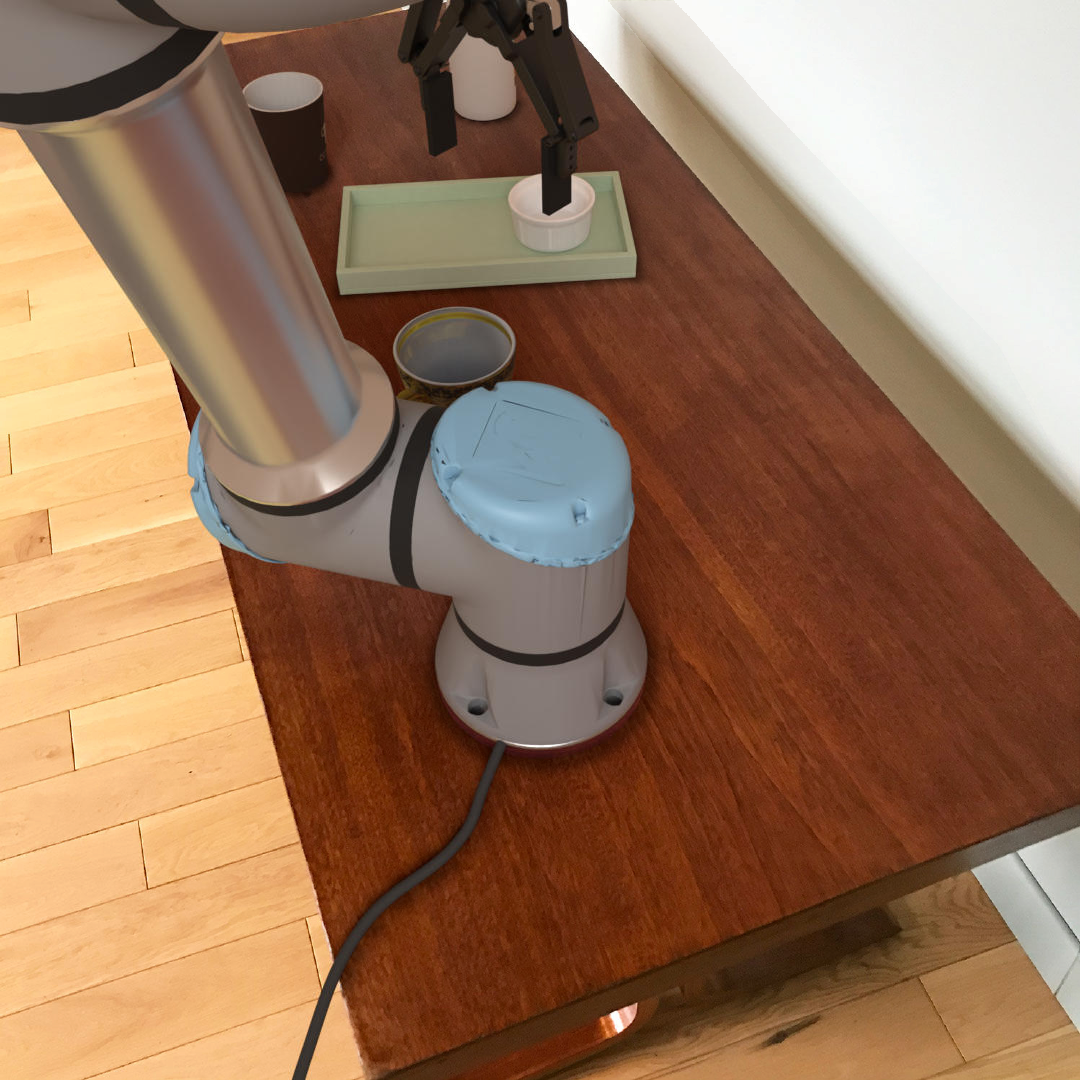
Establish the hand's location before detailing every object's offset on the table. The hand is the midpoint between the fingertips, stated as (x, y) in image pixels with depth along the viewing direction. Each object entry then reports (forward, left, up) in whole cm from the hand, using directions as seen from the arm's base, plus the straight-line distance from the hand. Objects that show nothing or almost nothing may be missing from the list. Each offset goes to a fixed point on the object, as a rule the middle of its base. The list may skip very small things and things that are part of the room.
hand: (498, 178), depth 94 cm
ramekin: (+15, -6, -16) cm, 23 cm away
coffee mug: (+31, +21, -17) cm, 41 cm away
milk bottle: (+43, 0, -17) cm, 46 cm away
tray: (+15, +1, -16) cm, 22 cm away
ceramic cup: (-15, +5, -17) cm, 23 cm away
